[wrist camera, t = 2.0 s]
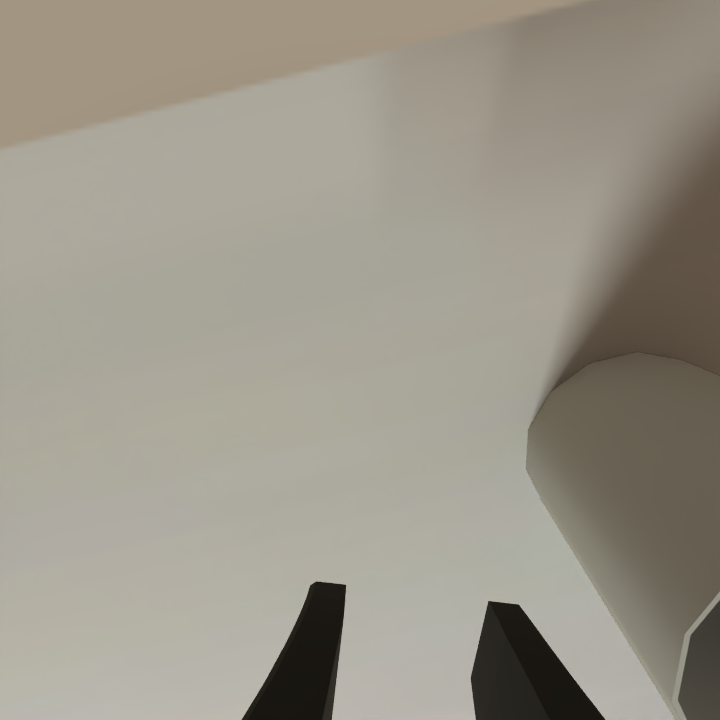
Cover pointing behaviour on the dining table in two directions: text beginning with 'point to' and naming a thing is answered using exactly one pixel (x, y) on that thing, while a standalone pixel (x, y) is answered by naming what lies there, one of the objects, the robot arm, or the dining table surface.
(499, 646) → the robot arm
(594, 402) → the grey cylinder
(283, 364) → the dining table surface
